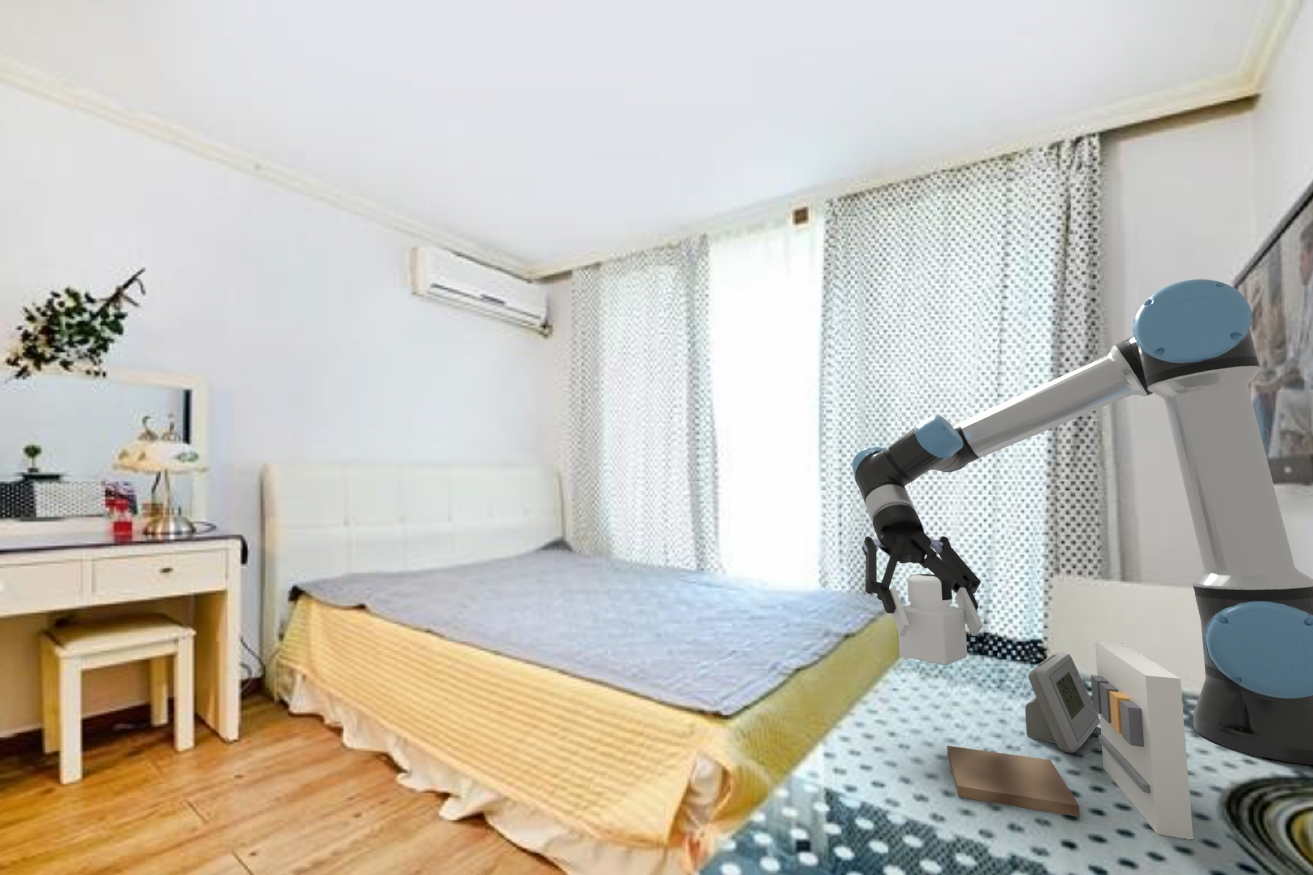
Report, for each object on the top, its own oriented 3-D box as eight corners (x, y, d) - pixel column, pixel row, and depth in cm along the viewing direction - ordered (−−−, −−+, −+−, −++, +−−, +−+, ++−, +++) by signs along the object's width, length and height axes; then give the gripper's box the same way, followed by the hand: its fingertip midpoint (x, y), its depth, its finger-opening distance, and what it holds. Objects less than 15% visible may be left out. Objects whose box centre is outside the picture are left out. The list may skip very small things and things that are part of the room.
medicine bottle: (921, 648, 93) (917, 571, 94) (968, 657, 88) (963, 575, 89) (898, 656, 88) (894, 574, 90) (946, 666, 83) (941, 579, 84)
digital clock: (1072, 759, 79) (1067, 677, 80) (1003, 736, 87) (999, 661, 88) (1124, 734, 88) (1119, 660, 89) (1057, 714, 95) (1053, 647, 96)
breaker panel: (1131, 772, 75) (1122, 643, 77) (1193, 840, 60) (1180, 678, 62) (1092, 766, 77) (1084, 640, 78) (1143, 831, 62) (1131, 674, 63)
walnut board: (1050, 769, 76) (1050, 759, 76) (1080, 817, 65) (1079, 805, 65) (947, 754, 80) (947, 745, 80) (958, 796, 69) (957, 785, 69)
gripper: (951, 531, 105) (1009, 644, 88) (825, 532, 105) (858, 645, 88) (965, 501, 100) (1028, 615, 83) (833, 502, 101) (868, 615, 83)
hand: (940, 630), depth 85 cm, fingers closed on medicine bottle, 10 cm apart
